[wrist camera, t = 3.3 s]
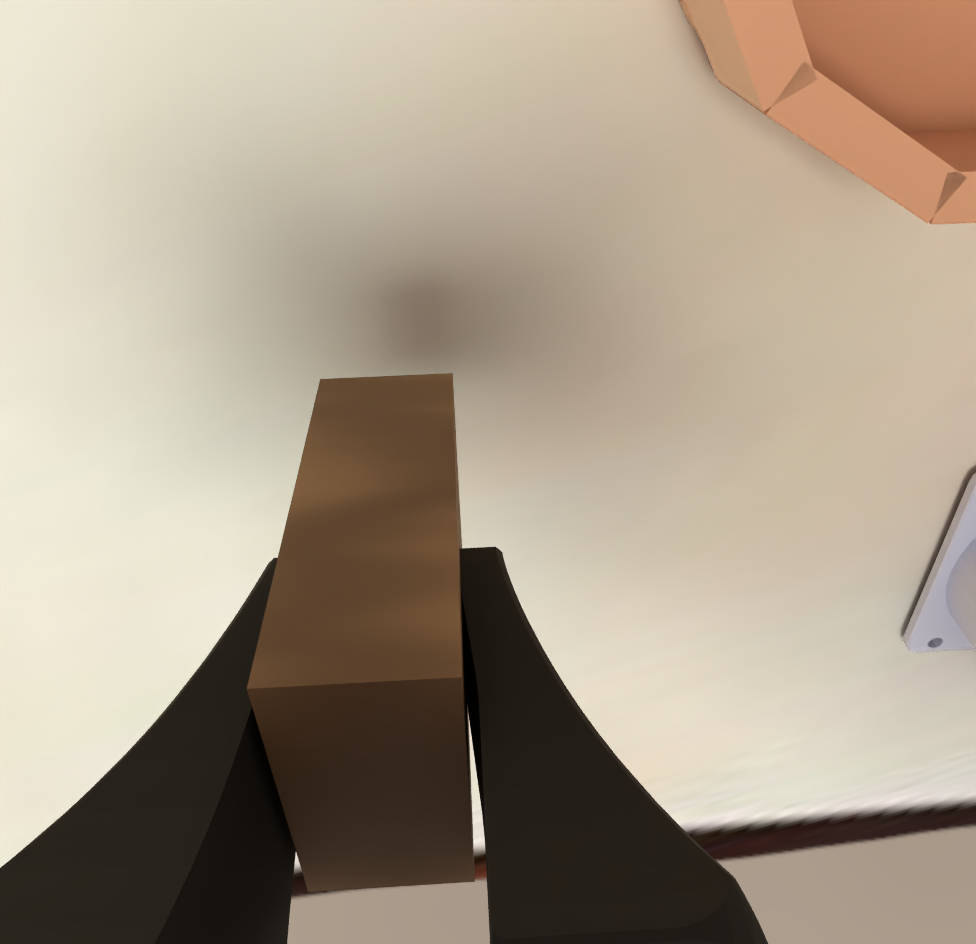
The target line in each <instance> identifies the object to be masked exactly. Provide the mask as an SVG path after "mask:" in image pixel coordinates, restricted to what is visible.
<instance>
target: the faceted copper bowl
mask: <svg viewBox="0 0 976 944" xmlns="http://www.w3.org/2000/svg"><path fill="white" fill-rule="evenodd" d="M678 1H679V3H680V5H681V7H682V9H683V11H684V13H685V15H686V17H687V20H688V21H689V23H690V25H691V26H692V28H693V29H694V31H695V32H696V34H697V35H698V37H699V38H700V40H701V41H702V43H703V45H704V48H705V50H706V53H707V56H708V58H709V61H710V63H711V66H712V69H713V71H714V74H715V76H716V79H718V80H719V82H720V83H722V84H723V85H724V86H726V87H727V88H729V89H730V90H731V91H733V92H734V93H736V94H737V95H738V96H740V97H741V98H743V99H744V100H745V101H747V102H748V103H750V104H751V105H753V106H754V107H755V108H757V109H758V110H760V111H761V112H762V113H764V114H765V115H767V116H768V117H770V118H771V119H773V120H774V121H776V122H777V123H779V124H780V125H782V126H783V127H785V128H786V129H788V130H789V131H791V132H792V133H794V134H795V135H797V136H798V137H800V138H801V139H803V140H804V141H806V142H807V143H808V144H810V145H811V146H813V147H814V148H816V149H817V150H819V151H820V152H822V153H823V154H825V155H826V156H828V157H829V158H831V159H832V160H834V161H835V162H837V163H838V164H840V165H841V166H843V167H844V168H846V169H847V170H849V171H850V172H852V173H853V174H855V175H856V176H858V177H859V178H861V179H862V180H864V181H865V182H867V183H868V184H870V185H871V186H873V187H874V188H876V189H877V190H879V191H880V192H882V193H883V194H885V195H886V196H888V197H889V198H891V199H892V200H894V201H895V202H897V203H898V204H900V205H901V206H903V207H904V208H906V209H907V210H909V211H910V212H911V213H913V214H914V215H916V216H917V217H919V218H920V219H922V220H923V221H925V222H926V223H928V222H929V223H930V224H955V223H976V0H678Z"/></svg>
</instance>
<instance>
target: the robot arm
mask: <svg viewBox="0 0 976 944" xmlns="http://www.w3.org/2000/svg"><path fill="white" fill-rule="evenodd" d="M277 560H278V558H274V559H273V560H272V561H270V562H269V563H268V565H267V567H266V568H265V570H264V572H263V573H262V575H261V577H260V578H259V580H258V582H257V583H256V585H255V586H254V588H253V590H252V591H251V593H250V594H249V596H248V598H247V599H246V601H245V602H244V604H243V605H242V607H241V608H240V610H239V611H238V613H237V614H236V616H235V618H234V619H233V621H232V622H231V624H230V625H229V626H228V628H227V629H226V631H225V632H224V633H223V635H222V636H221V638H220V639H219V641H218V642H217V643H216V645H215V646H214V648H213V649H212V651H211V652H210V653H209V655H208V656H207V658H206V659H205V660H204V662H203V663H202V664H201V666H200V667H199V668H198V669H197V671H196V672H195V673H194V675H193V676H192V677H191V678H190V680H189V681H188V682H187V683H186V685H185V686H184V687H183V689H182V690H181V691H180V692H179V694H178V695H177V696H176V697H175V699H174V700H173V701H172V702H171V704H170V705H169V706H168V707H167V708H166V710H165V711H164V712H163V713H162V714H161V716H160V717H159V718H158V719H157V720H156V721H155V723H154V724H153V725H152V726H151V727H150V728H149V729H148V730H147V732H146V733H145V734H144V735H143V736H142V737H141V738H140V739H139V740H138V741H137V742H136V744H135V745H134V746H133V747H132V748H131V749H130V750H129V751H128V752H127V753H126V754H125V755H124V756H123V757H122V758H121V759H120V760H119V761H118V762H117V763H116V764H115V765H114V766H113V767H112V768H111V769H110V770H109V771H108V772H107V773H106V774H105V775H104V776H103V777H102V778H101V779H100V780H99V781H98V782H97V783H96V784H95V785H94V786H93V787H92V788H91V789H90V790H89V791H88V792H87V793H86V794H85V795H84V796H83V797H82V798H81V799H80V800H79V801H78V802H77V803H76V804H74V805H73V806H72V807H71V808H70V809H69V810H68V811H67V812H66V813H65V814H63V815H62V816H61V817H60V818H59V819H58V820H56V821H55V822H54V823H53V824H52V825H51V826H49V827H48V828H47V829H46V830H45V831H44V832H42V833H41V834H40V835H39V836H38V837H37V838H35V839H34V840H33V841H32V842H31V843H30V844H29V845H27V846H26V847H25V848H24V849H23V850H22V851H20V852H19V853H18V854H17V855H16V856H14V857H13V858H12V859H11V860H10V861H8V862H7V863H6V864H5V865H3V866H2V867H1V868H0V944H287V937H288V925H289V914H290V903H291V893H292V883H293V873H294V863H295V853H296V849H295V846H294V843H293V839H292V836H291V833H290V829H289V826H288V823H287V820H286V816H285V813H284V810H283V806H282V803H281V800H280V797H279V793H278V790H277V787H276V783H275V780H274V777H273V774H272V770H271V767H270V764H269V760H268V757H267V754H266V751H265V747H264V744H263V741H262V737H261V734H260V731H259V728H258V724H257V721H256V718H255V714H254V711H253V708H252V705H251V701H250V698H249V695H248V691H247V686H248V682H249V677H250V673H251V669H252V665H253V661H254V656H255V652H256V648H257V644H258V639H259V635H260V631H261V627H262V623H263V618H264V614H265V610H266V606H267V602H268V597H269V593H270V589H271V585H272V581H273V576H274V572H275V568H276V564H277ZM460 583H461V603H462V621H463V638H464V655H465V672H466V689H467V706H468V713H469V720H470V728H471V735H472V742H473V749H474V757H475V764H476V771H477V779H478V786H479V793H480V800H481V808H482V815H483V825H484V835H485V849H486V869H487V889H488V909H489V929H490V944H768V942H767V940H766V938H765V935H764V933H763V931H762V929H761V926H760V924H759V922H758V920H757V918H756V916H755V914H754V912H753V910H752V908H751V906H750V904H749V902H748V901H747V899H746V897H745V895H744V893H743V891H742V890H741V888H740V886H739V884H738V883H737V881H736V879H735V878H734V877H733V876H732V875H731V874H730V873H729V872H728V871H727V870H726V869H725V868H723V867H722V866H721V865H720V864H719V863H718V862H717V861H716V860H715V859H714V858H712V857H711V856H710V855H709V854H708V853H707V852H706V851H705V850H704V849H703V848H702V847H701V846H700V845H699V844H698V843H697V842H696V841H694V840H693V839H692V838H691V837H690V836H689V835H688V834H687V833H686V832H685V831H684V830H683V829H682V828H681V827H680V826H679V825H678V824H677V823H676V822H675V821H674V820H673V819H672V818H671V817H670V815H669V814H668V813H667V812H666V811H665V810H664V809H663V808H662V807H661V806H660V805H659V804H658V803H657V802H656V801H655V800H654V799H653V798H652V796H651V795H650V794H649V793H648V792H647V791H646V790H645V788H644V787H643V786H642V785H641V784H640V783H639V782H638V780H637V779H636V778H635V777H634V776H633V775H632V774H631V772H630V771H629V770H628V769H627V768H626V767H625V766H624V764H623V763H622V762H621V761H620V760H619V759H618V758H617V756H616V755H615V754H614V753H613V751H612V750H611V749H610V747H609V746H608V745H607V744H606V742H605V741H604V740H603V738H602V737H601V736H600V735H599V733H598V732H597V731H596V729H595V728H594V727H593V725H592V724H591V722H590V721H589V720H588V718H587V717H586V716H585V714H584V713H583V711H582V710H581V709H580V707H579V706H578V704H577V703H576V701H575V700H574V698H573V697H572V695H571V694H570V692H569V691H568V689H567V688H566V686H565V685H564V683H563V681H562V680H561V678H560V677H559V675H558V673H557V672H556V670H555V668H554V667H553V665H552V664H551V662H550V660H549V658H548V657H547V655H546V653H545V651H544V650H543V648H542V646H541V644H540V642H539V640H538V638H537V637H536V635H535V633H534V631H533V629H532V627H531V625H530V623H529V621H528V619H527V617H526V615H525V613H524V611H523V609H522V607H521V605H520V602H519V600H518V598H517V595H516V593H515V591H514V588H513V586H512V583H511V581H510V578H509V575H508V572H507V569H506V566H505V562H504V559H503V554H502V552H501V551H500V550H499V549H498V548H496V547H484V548H464V549H460ZM903 642H904V644H905V645H906V647H907V648H908V650H910V651H912V652H930V651H949V650H968V649H975V651H976V473H975V474H974V475H973V476H972V478H971V479H970V481H969V483H968V485H967V488H966V490H965V492H964V495H963V497H962V499H961V502H960V504H959V506H958V509H957V511H956V513H955V516H954V518H953V521H952V523H951V525H950V528H949V530H948V532H947V535H946V537H945V539H944V542H943V544H942V547H941V549H940V551H939V554H938V556H937V558H936V561H935V563H934V565H933V568H932V570H931V572H930V575H929V577H928V580H927V582H926V584H925V587H924V589H923V591H922V594H921V596H920V598H919V601H918V603H917V606H916V608H915V610H914V613H913V615H912V617H911V620H910V622H909V624H908V627H907V629H906V631H905V634H904V636H903Z"/></svg>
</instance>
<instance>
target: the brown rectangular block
mask: <svg viewBox="0 0 976 944" xmlns="http://www.w3.org/2000/svg"><path fill="white" fill-rule="evenodd" d="M460 549H462V539H461V521H460V503H459V484H458V466H457V448H456V429H455V411H454V393H453V374H452V373H450V374H428V375H405V376H382V377H360V378H337V379H320V383H319V387H318V391H317V396H316V400H315V404H314V408H313V412H312V417H311V421H310V425H309V429H308V433H307V438H306V442H305V446H304V450H303V455H302V459H301V463H300V467H299V471H298V476H297V480H296V484H295V488H294V492H293V497H292V501H291V505H290V509H289V513H288V518H287V522H286V526H285V530H284V534H283V539H282V543H281V547H280V551H279V555H278V560H277V564H276V568H275V572H274V576H273V581H272V585H271V589H270V593H269V597H268V602H267V606H266V610H265V614H264V618H263V623H262V627H261V631H260V635H259V639H258V644H257V648H256V652H255V656H254V661H253V665H252V669H251V673H250V677H249V682H248V686H247V691H248V695H249V698H250V701H251V705H252V708H253V711H254V714H255V718H256V721H257V724H258V728H259V731H260V734H261V737H262V741H263V744H264V747H265V751H266V754H267V757H268V760H269V764H270V767H271V770H272V774H273V777H274V780H275V783H276V787H277V790H278V793H279V797H280V800H281V803H282V806H283V810H284V813H285V816H286V820H287V823H288V826H289V829H290V833H291V836H292V839H293V843H294V846H295V849H296V852H297V856H298V859H299V862H300V866H301V869H302V872H303V875H304V879H305V882H306V885H307V889H308V892H314V891H330V890H346V889H362V888H378V887H394V886H410V885H426V884H443V883H459V882H475V878H474V851H473V824H472V798H471V771H470V744H469V718H468V706H467V689H466V672H465V655H464V638H463V621H462V603H461V583H460Z"/></svg>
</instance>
